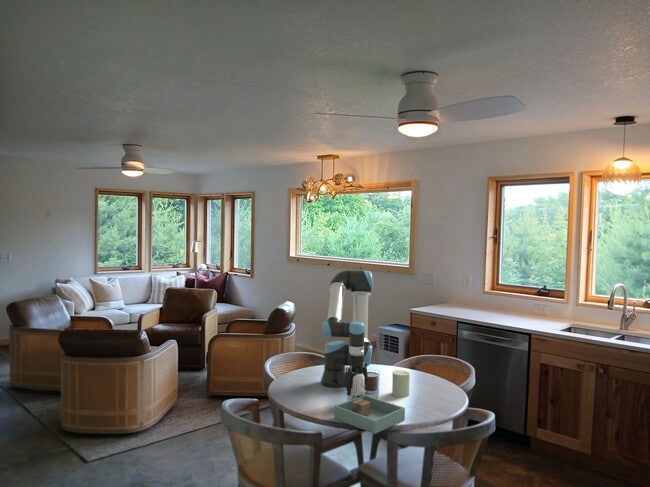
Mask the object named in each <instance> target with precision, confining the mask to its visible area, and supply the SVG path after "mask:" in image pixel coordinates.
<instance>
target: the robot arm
mask: <svg viewBox="0 0 650 487" xmlns="http://www.w3.org/2000/svg"><path fill="white" fill-rule="evenodd" d="M328 290H329V292H330V295H329V304H328V310H327V311H328V312H327V318H326V321H323V322H322V324H321V325H322V326H321V334H322V336H323V337H328V338H329V337H331V338H334V337H335V338H348V340H349V342H348V343H349V344H348V343H346V342H345V340H334V341H330V342H326V344H325V345H324V352H323V353H324V369H323V372H322V376H321V379H320V383H321V385H322V386H324V387H327V388H337V389H338V388H345V389H346V395H347V400H346V402H347V401H350V400H353V389H352V385H353V377H354V376H356V374H357V373H360V374H362V373H363V375H364V377H365V378H364V391H365V390H366V385H367V384H368V382H369V378H368V369H367V368H368V367H369V366H370V365H371V361H372V360H371V359H372V355H373V345H371V341H370V340H369V337H368V334H369V332H368V330H369V328H368V327H369V323H368V322H369V297H370V296H371V295H372V292H373V291H374V280H373V274H372V271H370V270H364V269H363V270H361V269H359V270H358V269H356V270H351V269H348V270H347V269H345V270H341V271H340V272H338V273H336V274H335V275H334V276H333V278H332V279H331V281H330V283H329V289H328ZM347 291H350V294H351V295H352V296H353V299H352V322H344V321H343V322H342V318H343V307H344V297H345V294H346V292H347ZM352 372H353V373H352ZM349 385H350V386H349Z"/></svg>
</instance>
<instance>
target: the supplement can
mask: <svg viewBox="0 0 650 487" xmlns="http://www.w3.org/2000/svg"><path fill="white" fill-rule="evenodd" d="M352 373H353V372H352ZM364 378H365V377H364V375H363V373H362V374H360V373H357V374H356V376H354V377H353V385H352V389H353V399H355V398H358V397H361V396H364V395H365V390H364ZM349 386H350V385H349Z"/></svg>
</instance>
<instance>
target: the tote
mask: <svg viewBox="0 0 650 487" xmlns="http://www.w3.org/2000/svg"><path fill="white" fill-rule="evenodd" d="M359 399H363V400H366V401H369V402H371V410H370V415H369V416H367V417H365V416H363V415H360V414H357V413H355V412H352V402H353V401H356V400H359ZM405 415H406V407H403V406H400V405H397V404H394V403H391V402H387V401H385V400H382V399H378V398H375V397H374V396H373V397H372V396H370V395H366V394H364V396H361V397H358V398H355V399H353V400H350V401H347V400H346V401H345V402H342V403H339V404H337V405H335V406H334V419H335V418H336V420H338V419H339V420H338V421H341V422H343V423H345V424H348V425H351V426H353V427H355V428H358V429H361V430H363V431H366V432H369V433H371V434H373V435H376V434H378V433H380V432H382V431H384V430H386V429H389V428H391V427H394V426H395V425H397V424H399V423H401V422H403V421H405V420H406V416H405Z"/></svg>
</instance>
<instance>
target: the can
mask: <svg viewBox="0 0 650 487" xmlns="http://www.w3.org/2000/svg"><path fill="white" fill-rule="evenodd" d="M410 378H411V373H410V371H407V370H402V369H397V370H393V371H392V391H391V395H392V396H395V397H396V398H408V397H409V396H410V395H411V394H410V381H411V380H410Z"/></svg>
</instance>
